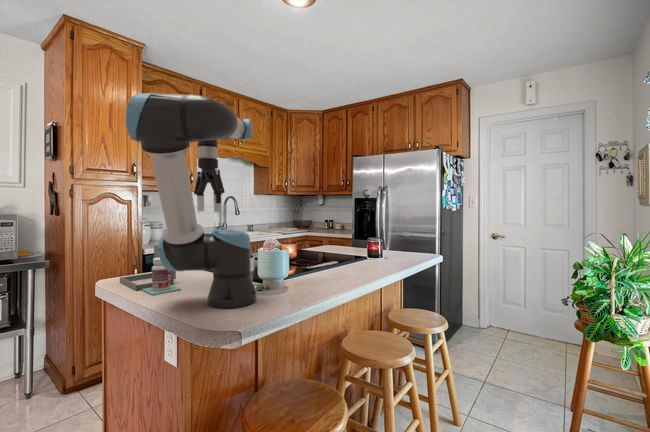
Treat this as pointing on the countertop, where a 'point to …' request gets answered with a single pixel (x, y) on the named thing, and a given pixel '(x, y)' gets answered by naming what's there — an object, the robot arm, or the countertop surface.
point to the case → (144, 276)
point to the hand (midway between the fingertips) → (208, 211)
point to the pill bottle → (160, 276)
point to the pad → (154, 292)
